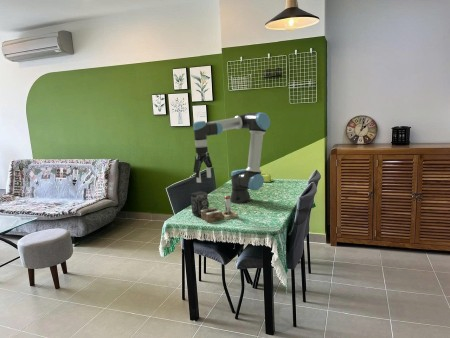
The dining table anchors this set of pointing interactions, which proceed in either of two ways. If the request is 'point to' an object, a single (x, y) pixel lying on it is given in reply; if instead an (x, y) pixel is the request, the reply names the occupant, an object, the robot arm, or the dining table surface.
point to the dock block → (211, 215)
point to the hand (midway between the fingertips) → (204, 180)
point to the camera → (199, 202)
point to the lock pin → (227, 205)
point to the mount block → (232, 215)
